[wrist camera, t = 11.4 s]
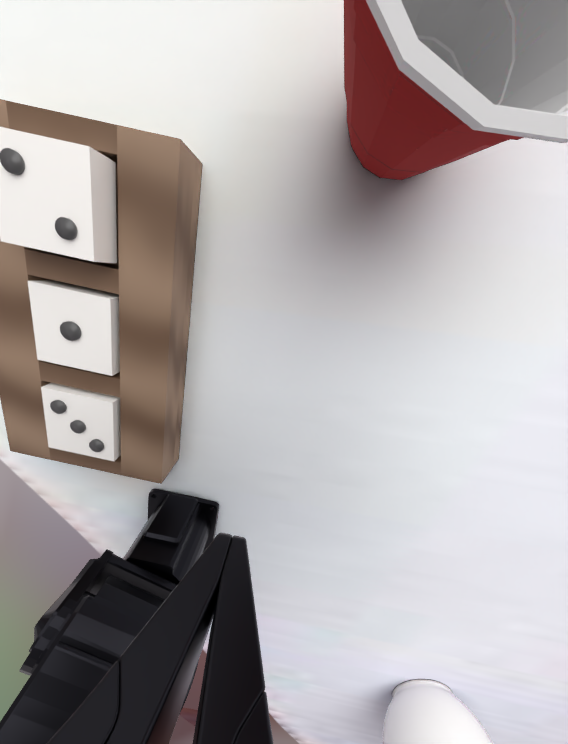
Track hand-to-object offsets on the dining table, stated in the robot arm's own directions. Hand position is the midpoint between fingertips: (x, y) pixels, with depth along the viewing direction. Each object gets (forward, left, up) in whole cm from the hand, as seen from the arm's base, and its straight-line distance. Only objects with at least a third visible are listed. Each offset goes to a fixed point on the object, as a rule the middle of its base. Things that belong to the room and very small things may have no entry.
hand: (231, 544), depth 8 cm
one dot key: (+2, +13, -12) cm, 17 cm away
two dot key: (+9, +13, -10) cm, 19 cm away
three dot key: (-5, +13, -11) cm, 18 cm away
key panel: (+2, +13, -13) cm, 18 cm away
